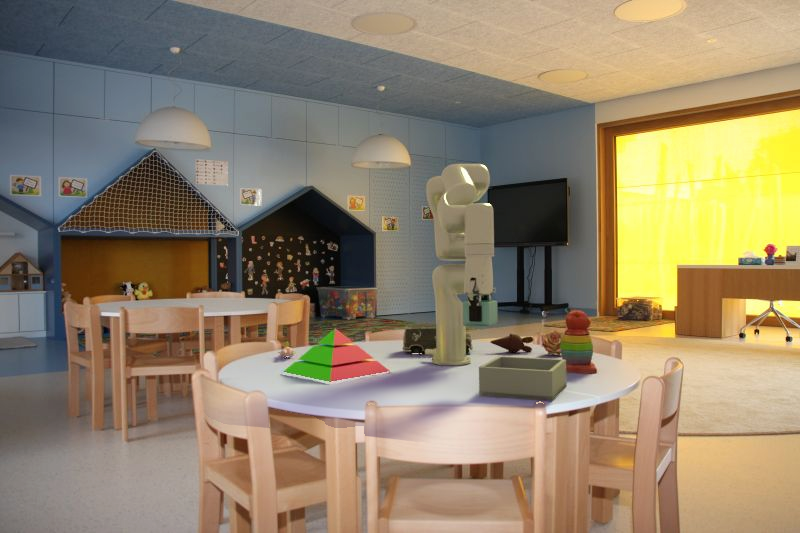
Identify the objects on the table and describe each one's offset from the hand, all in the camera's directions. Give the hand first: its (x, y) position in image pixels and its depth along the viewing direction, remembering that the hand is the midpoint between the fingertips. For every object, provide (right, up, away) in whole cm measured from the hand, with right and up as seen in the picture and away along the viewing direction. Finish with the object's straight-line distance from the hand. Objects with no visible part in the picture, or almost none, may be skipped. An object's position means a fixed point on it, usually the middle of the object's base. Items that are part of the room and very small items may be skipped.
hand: (480, 319), depth 168 cm
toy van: (-7, -17, +64) cm, 67 cm away
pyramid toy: (-40, -19, +26) cm, 51 cm away
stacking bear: (+32, -17, +25) cm, 44 cm away
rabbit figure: (-60, -18, +58) cm, 85 cm away
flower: (+32, -17, +53) cm, 64 cm away
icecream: (+19, -17, +61) cm, 66 cm away
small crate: (0, -1, 0) cm, 1 cm away
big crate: (+11, -18, -3) cm, 21 cm away
